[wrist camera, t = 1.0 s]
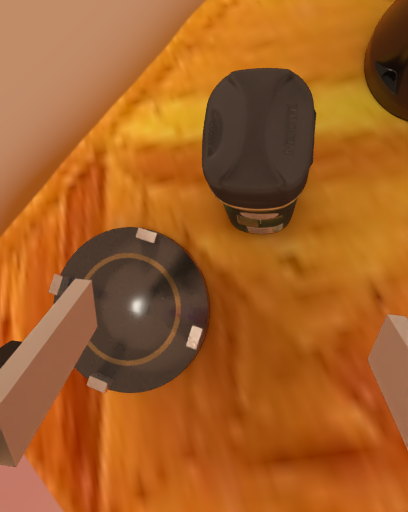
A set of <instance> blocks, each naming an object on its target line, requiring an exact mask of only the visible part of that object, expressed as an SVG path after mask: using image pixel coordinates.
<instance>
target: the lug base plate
mask: <svg viewBox="0 0 408 512" xmlns="http://www.w3.org/2000/svg"><path fill="white" fill-rule="evenodd" d="M75 279H83V280H92V287H93V295H94V303H95V311H96V320H97V328H96V330H95V332H94V334H93V335H92V337H91V339H90V340H89V342H88V344H87V346H86V347H85V349H84V351H83V353H82V354H81V356H80V358H79V359H78V361H77V363H76V365H75V366H74V367H75V368H76V369H77V370H78V371H79V372H80V373H81V374H82V375H83V376H85V377H86V378H87V379H88V382H87V386H89V387H91V388H94V389H96V390H98V391H100V392H103V393H105V392H107V391H108V390H112V391H117V392H124V393H137V392H144V391H149V390H152V389H155V388H158V387H160V386H162V385H164V384H166V383H168V382H170V381H171V380H172V379H174V378H175V377H176V376H178V375H179V374H180V373H181V372H182V371H183V370H184V369H185V368H186V367H187V366H188V365H189V364H190V363H191V361H192V360H193V359H194V357H195V356H196V355H197V353H198V351H199V349H200V347H201V346H202V343H203V341H204V338H205V336H206V332H207V328H208V324H209V316H210V302H209V294H208V290H207V286H206V282H205V280H204V277H203V275H202V272H201V270H200V269H199V267H198V265H197V263H196V262H195V261H194V259H193V258H192V257H191V255H190V254H189V253H188V252H187V251H186V250H185V249H184V248H183V247H182V246H180V245H179V244H178V243H176V242H175V241H174V240H172V239H170V238H168V237H167V236H164V235H162V234H160V233H157V232H155V231H152V230H148V229H144V228H135V227H126V228H118V229H113V230H110V231H106V232H104V233H101V234H99V235H97V236H95V237H93V238H92V239H90V240H89V241H87V242H86V243H85V244H84V245H82V246H81V247H80V248H79V249H78V250H77V251H76V252H75V253H74V254H73V255H72V257H71V258H70V260H69V261H68V262H67V264H66V266H65V267H64V269H63V271H62V273H61V274H54V277H53V280H52V283H51V286H50V289H49V293H52V294H55V297H54V304H55V303H56V301H57V300H58V299H59V298H60V297H61V295H62V294H63V293H64V292H65V291H66V289H67V288H68V287H69V286H70V284H71V283H72V282H73V281H74V280H75Z"/></svg>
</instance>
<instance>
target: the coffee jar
mask: <svg viewBox="0 0 408 512" xmlns="http://www.w3.org/2000/svg"><path fill="white" fill-rule="evenodd" d="M315 121H316V112H315V110H314V103H313V97H312V94H311V91H310V89H309V87H308V86H307V84H306V83H305V82H304V81H303V79H302V78H300V77H299V76H298V75H296V74H295V73H293V72H292V71H290V70H288V69H279V68H257V69H246V70H238V71H234V72H232V73H231V74H229V75H228V76H227V77H225V78H224V79H223V80H222V81H221V82H219V84H218V85H217V86H216V87H215V89H214V90H213V92H212V93H211V95H210V98H209V100H208V103H207V108H206V115H205V121H204V129H203V141H202V167H203V172H204V176H205V179H206V181H207V182H208V184H209V187H210V189H211V191H212V193H213V194H214V195H215V197H216V198H217V199H218V200H219V201H221V202H222V203H223V204H224V206H225V208H226V211H227V214H228V216H229V219H230V221H231V222H232V224H233V225H234V226H235V227H236V228H238V229H239V230H242V231H245V232H250V233H258V234H266V233H274V232H278V231H280V230H282V229H283V228H285V227H286V226H287V224H288V223H289V221H290V219H291V217H292V214H293V211H294V208H295V204H296V201H297V198H298V196H299V195H300V194H301V192H302V191H303V189H304V187H305V184H306V181H307V178H308V172H309V168H310V166H311V165H312V163H313V148H314V133H315Z"/></svg>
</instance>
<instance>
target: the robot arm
mask: <svg viewBox="0 0 408 512" xmlns="http://www.w3.org/2000/svg"><path fill="white" fill-rule="evenodd" d="M365 75H366V80H367V83H368V86H369V88H370V90H371V92H372V94H373V95H374V97H375V98H376V99H377V101H378V102H379V103H380V104H381V105H382V106H383V107H384V108H385V109H387V110H388V111H389V112H391V113H392V114H394V115H396V116H398V117H400V118H402V119H404V120H407V121H408V0H396V1H395V2H394V3H393V4H392V5H391V6H390V7H389V8H388V10H387V11H386V12H385V13H384V15H383V16H382V18H381V19H380V21H379V22H378V24H377V26H376V28H375V30H374V33H373V35H372V37H371V39H370V42H369V44H368V47H367V50H366V55H365ZM96 328H97V320H96V311H95V303H94V295H93V287H92V280H83V279H75V280H74V281H73V282H72V283H71V284H70V286H69V287H68V288H67V289H66V291H65V292H64V293H63V294H62V295H61V297H60V298H59V299H58V300H57V301H56V303H55V304H54V305H53V306H52V307H51V309H50V310H49V311H48V312H47V313H46V315H45V316H44V317H43V318H42V319H41V321H40V322H39V323H38V324H37V325H36V327H35V328H34V329H33V330H32V331H31V333H30V334H29V335H28V336H27V337H26V339H25V340H24V341H23V342H19V341H10V342H8V343H7V344H5V345H4V346H2V347H1V348H0V465H5V466H13V467H16V466H17V464H18V463H19V461H20V459H21V458H22V456H23V454H24V453H25V451H26V449H27V447H28V446H29V444H30V442H31V440H32V439H33V437H34V435H35V434H36V432H37V430H38V428H39V427H40V425H41V423H42V421H43V420H44V418H45V416H46V415H47V413H48V411H49V409H50V408H51V406H52V404H53V403H54V401H55V399H56V397H57V396H58V394H59V392H60V390H61V389H62V387H63V385H64V384H65V382H66V380H67V378H68V377H69V375H70V373H71V371H72V370H73V368H74V366H75V365H76V363H77V361H78V359H79V358H80V356H81V354H82V353H83V351H84V349H85V347H86V346H87V344H88V342H89V340H90V339H91V337H92V335H93V334H94V332H95V330H96ZM367 360H368V363H369V365H370V367H371V369H372V371H373V374H374V376H375V378H376V380H377V383H378V385H379V387H380V389H381V391H382V394H383V396H384V398H385V400H386V403H387V405H388V407H389V409H390V412H391V414H392V416H393V418H394V420H395V423H396V425H397V427H398V429H399V432H400V434H401V436H402V438H403V441H404V443H405V445H406V447H407V449H408V319H407V318H406V316H398V315H389V314H387V316H386V318H385V321H384V323H383V325H382V327H381V330H380V332H379V334H378V337H377V339H376V341H375V343H374V346H373V348H372V350H371V353H370V355H369V357H368V359H367Z"/></svg>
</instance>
